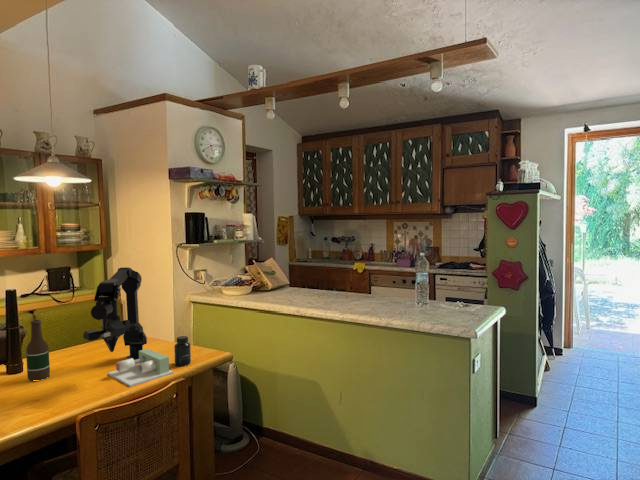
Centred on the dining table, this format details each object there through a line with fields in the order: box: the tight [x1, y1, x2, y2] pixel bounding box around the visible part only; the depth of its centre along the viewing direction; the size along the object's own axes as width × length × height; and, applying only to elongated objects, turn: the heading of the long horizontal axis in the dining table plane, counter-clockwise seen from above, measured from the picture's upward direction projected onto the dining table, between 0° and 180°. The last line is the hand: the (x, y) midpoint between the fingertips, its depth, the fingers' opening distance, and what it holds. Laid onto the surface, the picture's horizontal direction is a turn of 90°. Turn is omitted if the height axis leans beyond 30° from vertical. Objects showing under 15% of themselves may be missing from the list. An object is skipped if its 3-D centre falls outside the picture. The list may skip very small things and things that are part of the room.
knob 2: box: [138, 360, 157, 373], centre depth 181 cm, size 12×4×4 cm, turn 139°
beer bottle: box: [25, 319, 51, 382], centre depth 178 cm, size 8×8×24 cm
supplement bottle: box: [173, 335, 192, 367], centre depth 193 cm, size 7×7×12 cm
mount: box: [107, 348, 174, 388], centre depth 181 cm, size 20×18×7 cm
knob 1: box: [115, 357, 146, 372], centre depth 183 cm, size 12×4×4 cm, turn 139°
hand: (111, 351), depth 174 cm, fingers closed
